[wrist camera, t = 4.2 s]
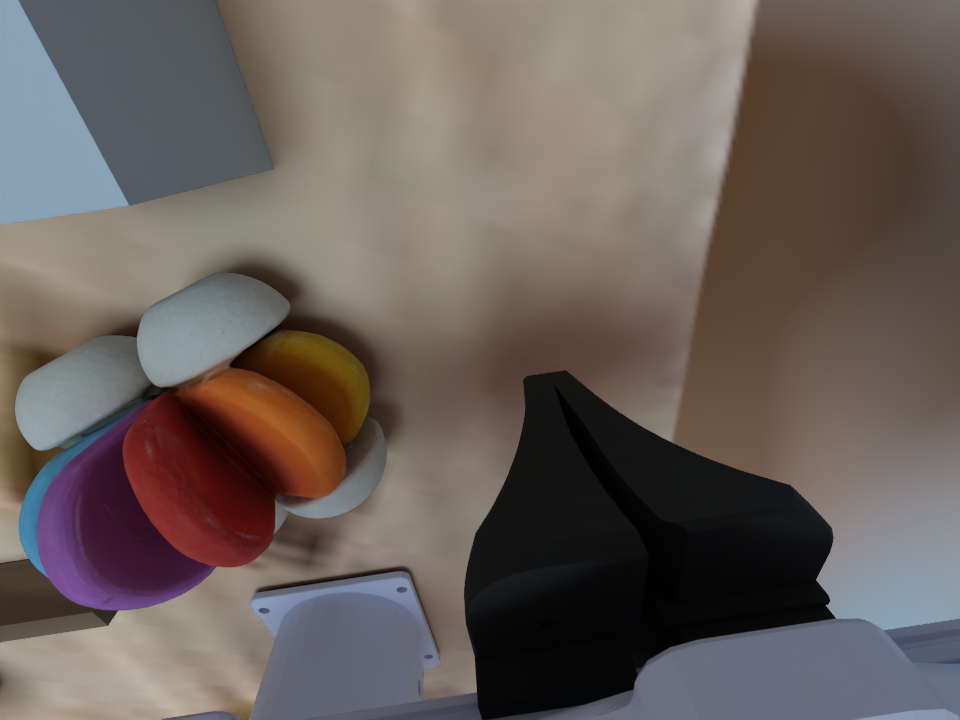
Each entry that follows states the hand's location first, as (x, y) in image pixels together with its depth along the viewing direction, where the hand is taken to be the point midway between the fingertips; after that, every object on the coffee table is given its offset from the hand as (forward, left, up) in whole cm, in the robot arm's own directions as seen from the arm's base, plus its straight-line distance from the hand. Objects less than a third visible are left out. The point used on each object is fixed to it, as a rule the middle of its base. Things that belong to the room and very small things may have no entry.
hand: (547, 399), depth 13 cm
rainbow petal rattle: (0, +10, -3) cm, 11 cm away
